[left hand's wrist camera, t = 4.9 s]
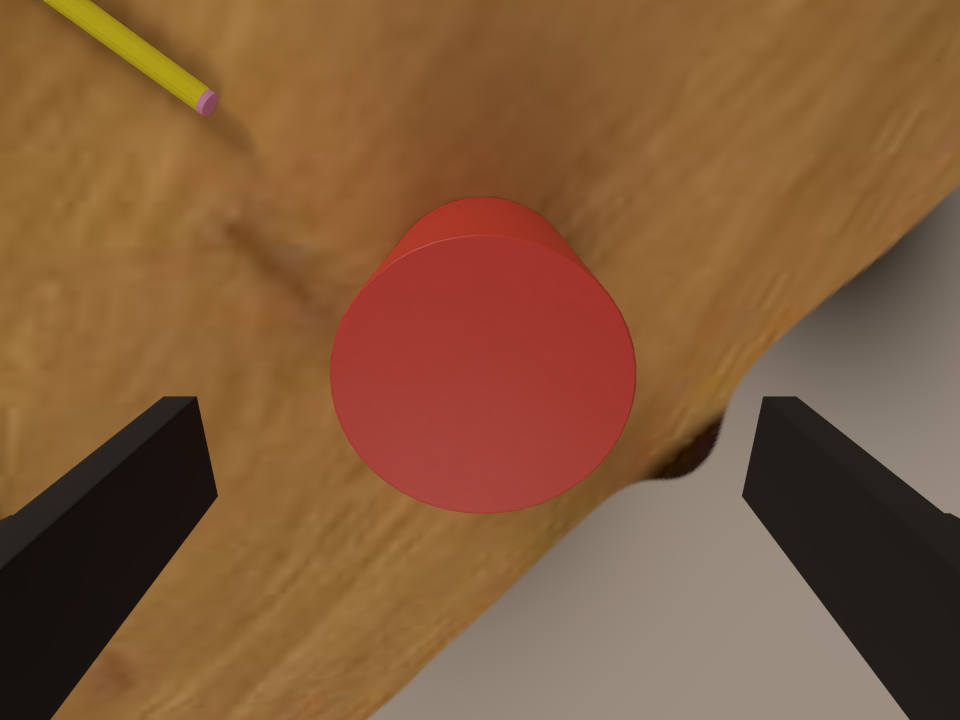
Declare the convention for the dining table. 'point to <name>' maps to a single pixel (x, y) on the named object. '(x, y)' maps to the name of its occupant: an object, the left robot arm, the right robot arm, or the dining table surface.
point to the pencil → (138, 53)
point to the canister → (483, 362)
